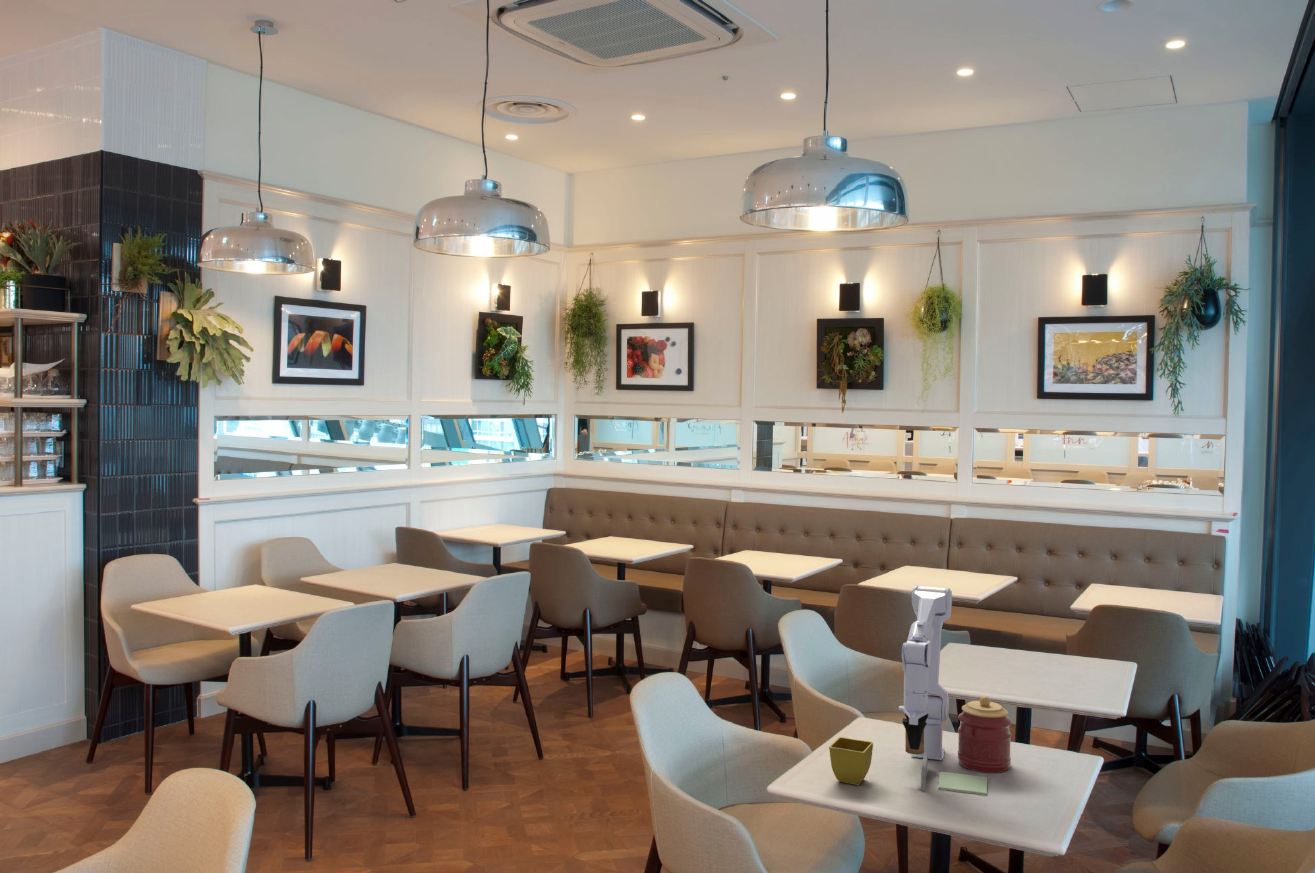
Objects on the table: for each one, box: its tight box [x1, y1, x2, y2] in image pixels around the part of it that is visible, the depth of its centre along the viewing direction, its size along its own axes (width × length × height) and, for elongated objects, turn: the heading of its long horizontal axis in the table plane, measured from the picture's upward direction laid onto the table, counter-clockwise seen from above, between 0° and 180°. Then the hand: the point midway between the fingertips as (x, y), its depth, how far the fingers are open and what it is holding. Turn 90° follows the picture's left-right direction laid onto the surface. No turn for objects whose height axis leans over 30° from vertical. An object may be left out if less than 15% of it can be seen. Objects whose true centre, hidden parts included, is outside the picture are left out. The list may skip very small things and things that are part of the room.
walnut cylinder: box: [904, 728, 924, 755], centre depth 236 cm, size 4×4×6 cm
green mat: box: [937, 771, 988, 796], centre depth 234 cm, size 11×11×1 cm
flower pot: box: [828, 736, 874, 786], centre depth 235 cm, size 9×9×9 cm
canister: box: [957, 695, 1012, 774], centre depth 247 cm, size 13×13×18 cm
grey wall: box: [920, 753, 929, 792], centre depth 236 cm, size 16×1×4 cm, turn 162°
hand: (915, 745), depth 236 cm, fingers closed on walnut cylinder, 4 cm apart
